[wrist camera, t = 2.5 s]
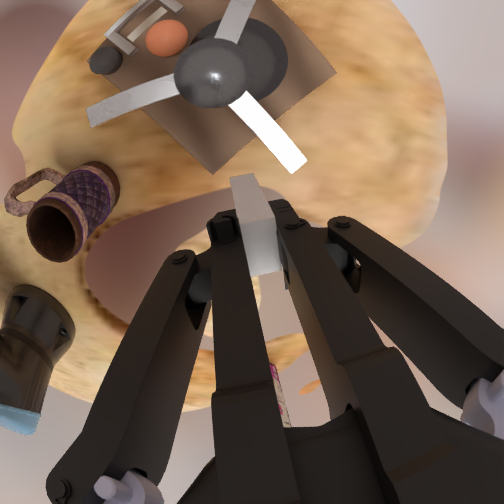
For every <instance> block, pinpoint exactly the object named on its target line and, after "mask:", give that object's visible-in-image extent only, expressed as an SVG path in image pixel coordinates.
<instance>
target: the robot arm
mask: <svg viewBox="0 0 504 504" xmlns="http://www.w3.org/2000/svg"><path fill="white" fill-rule="evenodd" d="M230 183H231V188H232V193H233V199H234V204H235V209H233V210H228V211H223V212H219V213H217V214H216V215H215V216H214V218H212V219H210V220H209V221H208V222H207V225H206V226H207V230H208V234H209V237H210V241H211V247H210V248H209V249H208V250H206V251H205V252H203V253H201V254H198V255H195V253H194V251H192V250H186V249H184V250H178V251H177V252H174V253H172V254H171V255H169V256H168V257H167V259H166V260H165V261H164V263H163V265H162V267H161V268H160V270H159V272H158V274H157V275H156V277H155V279H154V281H153V283H152V284H151V286H150V288H149V290H148V291H147V293H146V295H145V297H144V299H143V301H142V303H141V304H140V306H139V308H138V310H137V312H136V314H135V316H134V318H133V320H132V322H131V323H130V325H129V327H128V329H127V331H126V333H125V335H124V337H123V339H122V341H121V343H120V345H119V347H118V350H117V352H116V354H115V356H114V358H113V360H112V362H111V364H110V366H109V369H108V371H107V373H106V375H105V377H104V380H103V382H102V384H101V386H100V389H99V391H98V393H97V395H96V398H95V400H94V403H93V405H92V407H91V410H90V412H89V415H88V417H87V420H86V423H85V425H84V427H83V430H82V432H81V434H80V435H79V436H78V437H77V439H76V440H75V441H74V442H73V444H72V445H71V447H69V449H68V450H67V451H66V453H65V454H64V455H63V457H62V458H61V459H60V460H59V462H58V463H57V464H56V465H55V467H54V468H53V469H52V471H51V472H50V473H49V475H48V477H47V479H46V491H47V495H48V497H49V499H50V501H51V503H52V504H164V499H163V497H162V494H161V492H160V490H159V489H158V487H157V486H158V484H159V483H160V481H161V479H162V477H163V474H164V472H165V470H166V467H167V464H168V460H169V458H170V454H171V450H172V446H173V442H174V438H175V434H176V430H177V426H178V422H179V419H180V415H181V411H182V408H183V404H184V400H185V396H186V393H187V389H188V385H189V382H190V378H191V374H192V371H193V367H194V364H195V360H196V357H197V353H198V350H199V346H200V343H201V339H202V336H203V332H204V329H205V325H206V322H207V319H208V315H209V312H210V308H211V303H212V314H213V338H214V358H215V375H216V392H214V393H212V398H211V408H212V422H213V435H214V448H215V457H213V458H212V459H211V461H209V463H207V465H206V466H205V467H204V468H203V470H202V471H201V473H200V474H199V475H198V476H197V478H196V479H195V480H194V482H193V483H192V484H191V486H190V487H189V488H188V490H187V491H186V492H185V494H184V495H183V496H182V497H181V499H180V500H179V501H178V503H177V504H504V329H503V328H501V327H500V326H499V325H497V324H496V323H495V322H494V321H493V320H492V319H491V318H490V317H489V316H487V315H486V314H485V313H484V312H483V311H482V310H480V309H479V308H478V307H477V306H476V305H474V304H473V303H472V302H471V301H470V300H468V299H467V298H466V297H465V296H463V295H462V294H461V293H460V292H458V291H457V290H456V289H454V288H453V287H452V286H451V285H449V284H448V283H447V282H445V281H444V280H443V279H441V278H440V277H439V276H438V275H436V274H435V273H434V272H432V271H431V270H429V269H428V268H426V267H425V266H424V265H422V264H421V263H420V262H418V261H417V260H416V259H414V258H413V257H411V256H410V255H408V254H407V253H405V252H404V251H403V250H401V249H400V248H398V247H397V246H395V245H394V244H392V243H391V242H389V241H388V240H386V239H385V238H383V237H382V236H380V235H379V234H377V233H376V232H374V231H372V230H371V229H369V228H368V227H366V226H365V225H363V224H361V223H360V222H358V221H357V220H355V219H353V218H350V217H346V216H338V217H334V218H332V219H330V220H329V221H328V222H327V224H328V228H315V227H311V226H310V224H309V223H308V222H307V221H306V220H305V219H302V218H299V217H298V215H297V214H296V212H295V211H294V210H293V208H292V207H291V205H290V203H289V202H288V201H286V200H284V199H278V200H274V201H268V202H267V199H266V197H265V196H264V193H263V192H262V190H261V187H260V185H259V183H258V181H257V179H256V178H255V176H254V174H253V173H251V174H246V175H241V176H236V177H231V178H230ZM356 259H357V260H358V261H359V263H360V265H361V266H360V265H358V264H357V263H356ZM281 264H282V266H283V272H284V280H285V289H286V290H287V289H289V292H290V295H291V297H292V300H293V303H294V306H295V309H296V311H297V314H298V317H299V320H300V323H301V326H302V328H303V331H304V334H305V337H306V340H307V343H308V346H309V349H310V351H311V354H312V357H313V360H314V363H315V366H316V369H317V372H318V375H319V378H320V381H321V384H322V387H323V390H324V393H325V396H326V399H327V402H328V406H329V411H330V419H331V421H329V422H327V423H326V424H324V425H322V426H318V427H283V422H282V418H281V413H280V409H279V404H278V400H277V395H276V391H275V386H274V382H273V377H272V373H271V368H270V364H269V359H268V355H267V350H266V345H265V341H264V336H263V332H262V327H261V323H260V318H259V313H258V309H257V304H256V299H255V295H254V290H253V285H252V281H251V277H254V276H258V275H263V274H267V273H272V272H277V271H281V270H282V266H281ZM211 300H212V301H211ZM369 318H370V319H371V320H372V321H373V322H374V323H375V324H376V325H377V326H378V327H379V328H380V329H381V330H382V331H383V332H384V333H385V334H386V335H387V336H388V337H389V338H390V339H391V340H392V341H393V342H394V343H395V344H396V345H397V346H398V348H399V349H400V350H401V351H402V352H403V353H404V354H405V355H406V356H407V357H408V358H409V359H410V360H411V361H412V362H413V363H414V365H415V366H416V367H417V368H418V369H419V370H420V371H421V372H422V373H423V374H424V375H425V376H426V378H427V379H428V380H429V381H430V382H431V383H432V384H433V385H434V386H435V387H436V389H437V390H439V392H441V393H442V394H443V395H444V396H445V397H446V398H447V399H448V400H449V401H451V402H452V403H453V404H454V405H456V406H458V407H460V408H461V409H463V413H462V415H461V418H460V419H461V421H459V420H456V419H454V418H452V417H450V416H447V415H446V414H444V413H441V412H439V411H437V410H435V409H433V408H431V407H430V406H429V404H428V402H427V400H426V398H425V396H424V394H423V392H422V390H421V388H420V386H419V385H418V383H417V381H416V379H415V377H414V375H413V373H412V372H411V370H410V368H409V366H408V364H407V362H406V361H405V359H404V357H403V355H402V354H401V353H400V351H399V350H398V349H397V348H395V347H389V348H387V347H386V346H385V345H384V344H383V342H382V340H381V339H380V337H379V335H378V333H377V331H376V330H375V328H374V326H373V324H372V323H371V321H370V319H369ZM74 337H75V327H74V324H73V321H72V319H71V317H70V316H69V314H68V313H67V311H66V310H65V309H64V308H63V306H62V305H61V304H60V303H59V302H58V301H56V300H55V299H54V298H53V297H52V296H50V295H49V294H47V293H46V292H44V291H42V290H41V289H38V288H36V287H33V286H29V285H20V286H17V287H15V288H14V289H13V291H12V292H11V294H10V295H9V297H8V299H7V301H6V306H5V310H4V315H3V320H2V326H1V329H0V425H1V426H3V427H5V428H7V429H10V430H12V431H14V432H17V433H20V434H24V435H31V434H33V433H34V432H35V430H36V427H37V424H38V421H39V418H40V417H41V410H42V405H43V402H44V398H45V394H46V391H47V387H48V384H49V380H50V377H51V374H52V371H53V368H54V365H55V364H56V363H57V362H58V361H59V360H60V358H61V357H62V356H63V355H64V354H65V353H66V352H67V350H68V349H69V348H70V347H71V345H72V342H73V339H74Z"/></svg>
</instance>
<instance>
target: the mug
mask: <svg viewBox="0 0 504 504" xmlns="http://www.w3.org/2000/svg"><path fill="white" fill-rule="evenodd" d="M45 179H46V180H49V181H51V182H53V183H55V184H56V186H55V187H54V188H53V189H52V190H51V191H49V192H48V193H47V194H45V195H44V196H43V197H42V198H40V199H39V200H38V201H37V202H34V201H28V202H20V201H19V200H17V199H16V196H17V195H19V194H21V193H22V192H24V191H26V190H27V189H29V188H30V187H32V186H33V185H35V184H36V183H38V182H40V181H42V180H45ZM119 195H120V186H119V182H118V178H117V177H116V175H115V173H114V171H113V170H111V169H110V168H109V167H108V166H107V165H105V164H103V163H100V162H88V163H85V164H83V165H82V166H80V167H77V168H75V169H74V170H73V171H71V172H70V173H69V174H68V175H66V176H65V175H63V174H61V173H59V172H57V171H55V170H53V169H50V168H45V169H41V170H40V171H38V172H36V173H34V174H33V175H31V176H29V177H28V178H26V179H24V180H22V181H20V182H18V183H16V184H14V185H13V186H12V187H11V189H10V190H9V191H8V193H7V195H6V197H5V199H4V201H5V208H6V211H7V212H8V213H10V214H12V215H14V216H18V217H21V216H23V215H25V214H28V216H27V224H26V226H27V233H28V236H29V239H30V241H31V244H32V245H33V246H34V248H35V249H36V251H37V252H38V253H39V254H41V255H42V256H43V257H44V258H46V259H48V260H50V261H53V262H59V263H60V262H66V261H68V260H70V259H71V258H73V256H75V255H76V254H77V253H78V252H79V251H80V249H81V248H82V247H83V245H84V244H85V242H86V240H87V239H88V238H89V237H90V235H91V234H92V233H93V232H94V230H95V229H96V228H97V227H98V226H99V225H100V224H102V223H103V222H104V221H105V219H106V218H107V217H108V216H109V214H110V213H111V212H112V209H113V208H114V206H115V205H116V204H117V201H118V199H119Z"/></svg>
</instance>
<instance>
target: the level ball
mask: <svg viewBox="0 0 504 504" xmlns="http://www.w3.org/2000/svg"><path fill="white" fill-rule="evenodd" d="M187 40H188V31H187V29H186V27H185V26H184V25H183V24H182V23H181V22H179V21H176V20H163V21H160V22H158V23H156V24H154V25H153V26H152V27H151V28H150V29H149V31H148V32H147V34H146V38H145V42H146V47H147V48H148V50H149V51H150V52H151V53H152V54H154V55H157V56H160V57H167V56H172V55H174V54H176V53H178V52H179V51H181V50H182V49H183V48H184V46H185V45H186V43H187Z"/></svg>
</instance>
